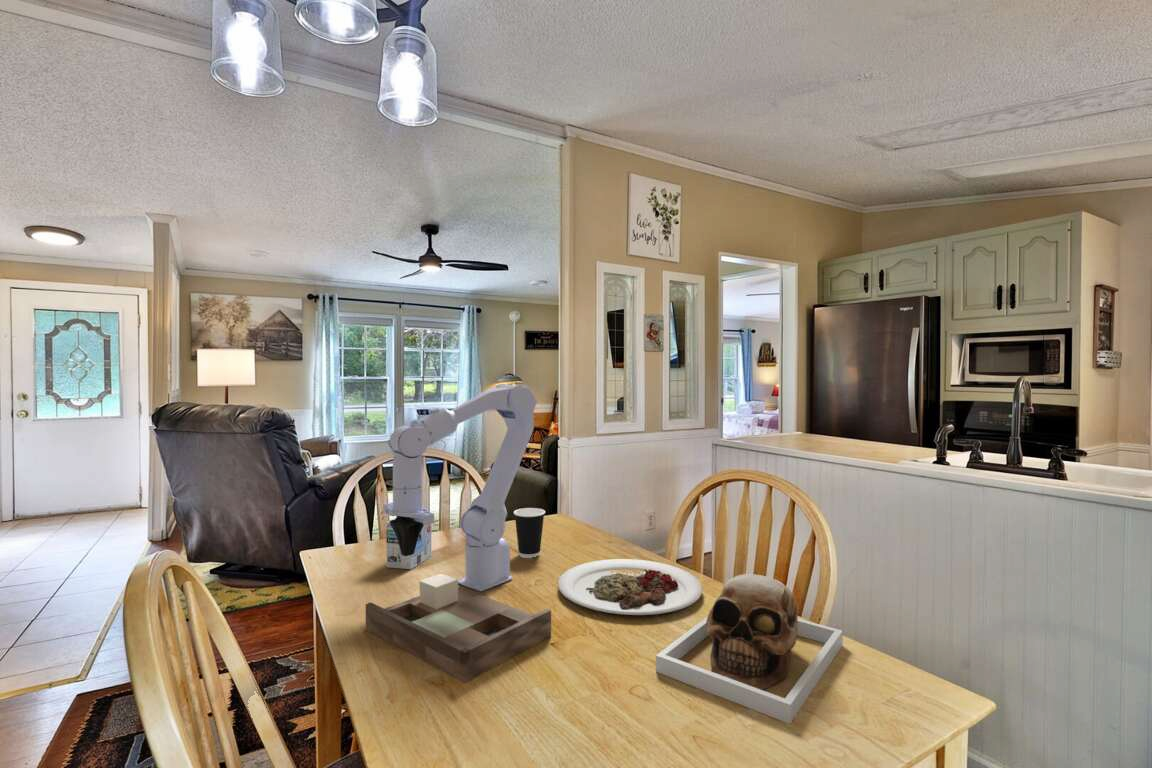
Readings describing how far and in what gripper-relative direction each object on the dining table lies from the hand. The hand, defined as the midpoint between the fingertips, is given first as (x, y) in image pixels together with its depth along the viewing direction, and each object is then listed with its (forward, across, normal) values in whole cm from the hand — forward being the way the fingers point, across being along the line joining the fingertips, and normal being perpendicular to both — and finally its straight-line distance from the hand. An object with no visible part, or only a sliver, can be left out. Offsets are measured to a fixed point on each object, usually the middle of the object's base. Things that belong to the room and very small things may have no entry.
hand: (407, 554), depth 110 cm
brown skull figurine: (+10, +62, +21) cm, 66 cm away
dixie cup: (+10, -1, +36) cm, 37 cm away
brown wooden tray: (+9, +18, -2) cm, 21 cm away
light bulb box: (+10, -20, +14) cm, 26 cm away
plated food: (+10, +31, +33) cm, 46 cm away
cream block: (+7, +10, 0) cm, 12 cm away
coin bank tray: (+9, +62, +22) cm, 66 cm away
